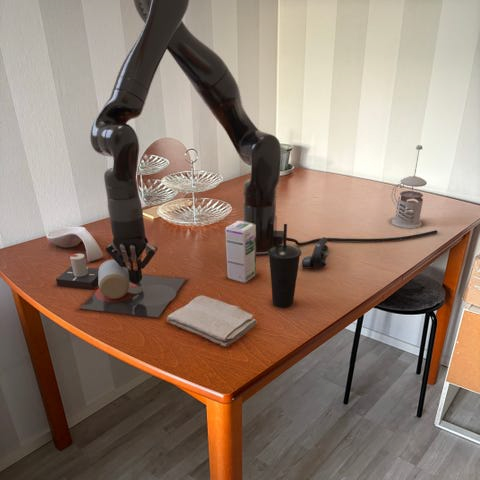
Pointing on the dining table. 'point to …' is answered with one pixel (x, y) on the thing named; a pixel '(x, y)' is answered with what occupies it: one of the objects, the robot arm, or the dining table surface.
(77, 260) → the hob knob
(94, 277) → the control box
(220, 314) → the washcloth
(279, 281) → the drinking cup
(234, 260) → the syrup box
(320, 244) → the can opener
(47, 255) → the dining table surface
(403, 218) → the french press
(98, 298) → the hob
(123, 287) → the ceramic mug
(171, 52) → the robot arm
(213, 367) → the dining table surface
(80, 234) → the spoon rest
